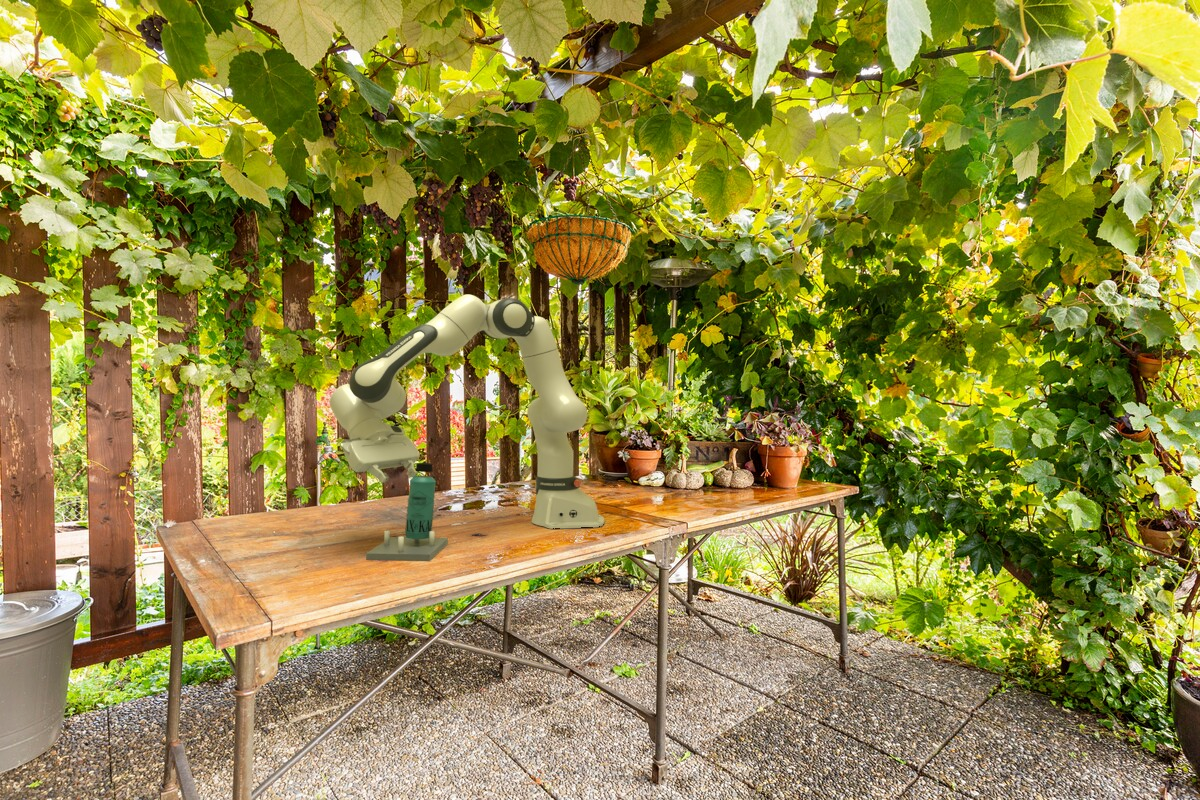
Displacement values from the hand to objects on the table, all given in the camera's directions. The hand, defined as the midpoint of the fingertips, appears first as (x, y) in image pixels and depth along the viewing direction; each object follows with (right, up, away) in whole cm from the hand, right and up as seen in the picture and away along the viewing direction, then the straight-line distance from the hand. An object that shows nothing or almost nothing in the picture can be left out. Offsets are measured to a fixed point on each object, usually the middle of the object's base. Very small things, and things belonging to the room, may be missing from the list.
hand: (399, 478), depth 138 cm
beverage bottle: (+4, -16, 0) cm, 17 cm away
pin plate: (+3, -18, -1) cm, 18 cm away
